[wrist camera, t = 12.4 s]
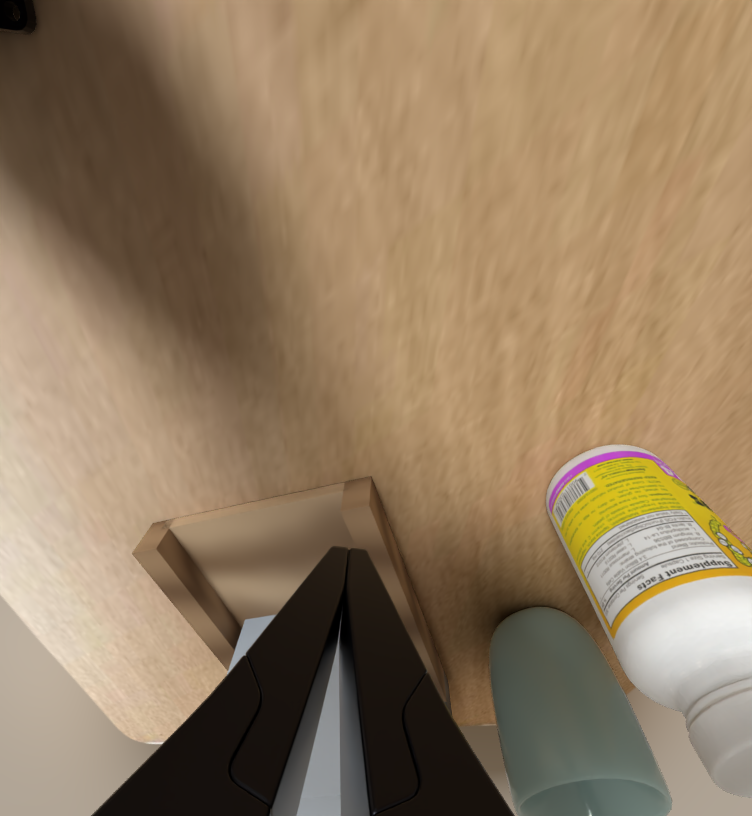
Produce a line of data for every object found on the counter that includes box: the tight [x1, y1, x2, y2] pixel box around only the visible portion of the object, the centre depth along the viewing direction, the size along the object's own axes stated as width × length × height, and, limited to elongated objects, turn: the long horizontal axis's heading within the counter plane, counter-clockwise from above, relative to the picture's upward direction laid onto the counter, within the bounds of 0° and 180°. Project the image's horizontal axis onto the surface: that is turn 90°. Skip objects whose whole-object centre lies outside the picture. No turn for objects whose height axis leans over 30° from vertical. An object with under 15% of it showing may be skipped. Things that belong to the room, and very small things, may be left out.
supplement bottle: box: [546, 445, 752, 798], centre depth 18 cm, size 7×7×13 cm
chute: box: [132, 477, 452, 715], centre depth 28 cm, size 22×14×3 cm, turn 16°
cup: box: [489, 607, 672, 816], centre depth 25 cm, size 8×8×10 cm
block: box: [227, 614, 342, 816], centre depth 26 cm, size 9×10×10 cm
